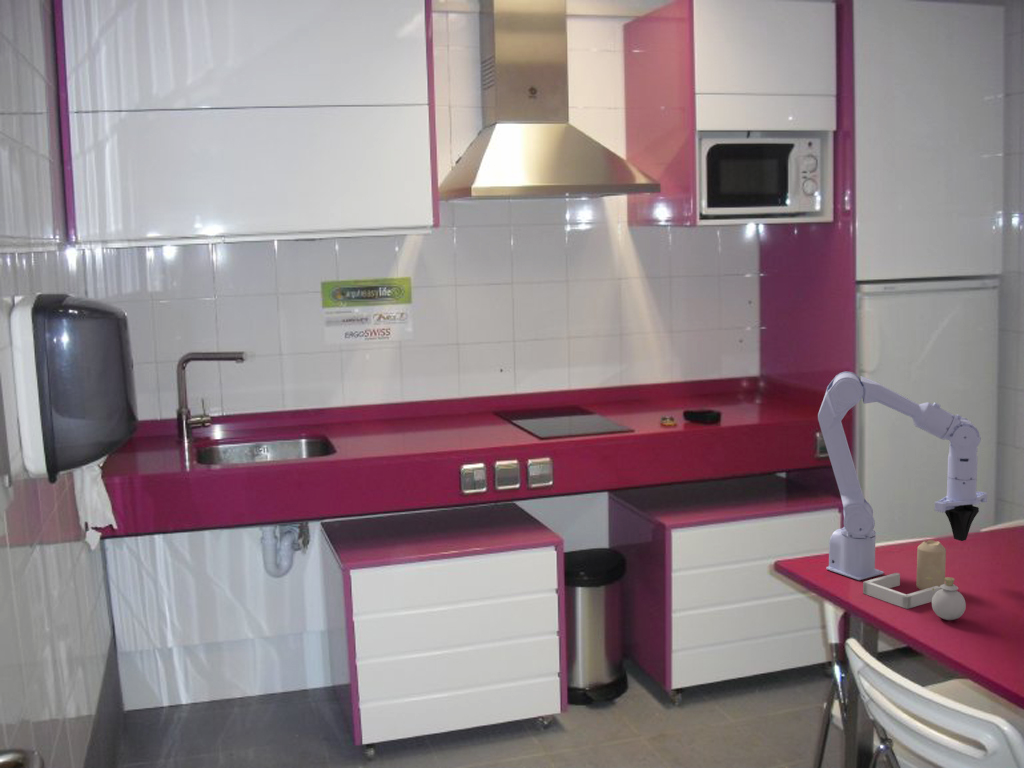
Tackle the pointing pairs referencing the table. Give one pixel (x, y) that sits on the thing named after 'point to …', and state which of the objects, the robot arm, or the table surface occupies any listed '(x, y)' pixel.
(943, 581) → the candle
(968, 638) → the table surface
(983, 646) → the table surface
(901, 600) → the box
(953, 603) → the round potion bottle
